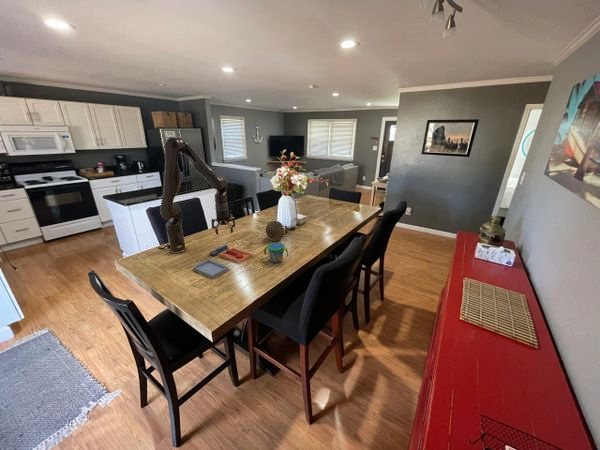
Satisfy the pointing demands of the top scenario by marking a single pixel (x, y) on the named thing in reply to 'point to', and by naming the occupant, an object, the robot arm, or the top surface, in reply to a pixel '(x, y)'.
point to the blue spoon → (218, 250)
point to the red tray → (233, 258)
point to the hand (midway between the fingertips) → (224, 233)
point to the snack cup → (276, 251)
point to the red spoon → (235, 254)
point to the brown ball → (275, 231)
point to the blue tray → (210, 268)
